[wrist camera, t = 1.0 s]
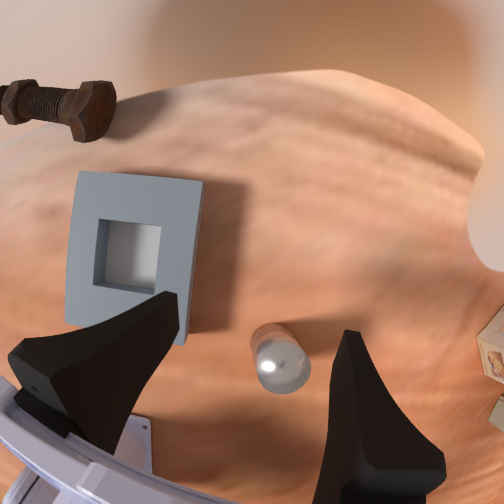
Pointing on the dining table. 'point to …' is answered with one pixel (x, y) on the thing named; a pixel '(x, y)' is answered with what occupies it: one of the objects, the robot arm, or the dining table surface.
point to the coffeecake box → (493, 347)
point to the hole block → (131, 245)
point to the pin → (279, 359)
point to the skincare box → (498, 414)
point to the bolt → (61, 106)
